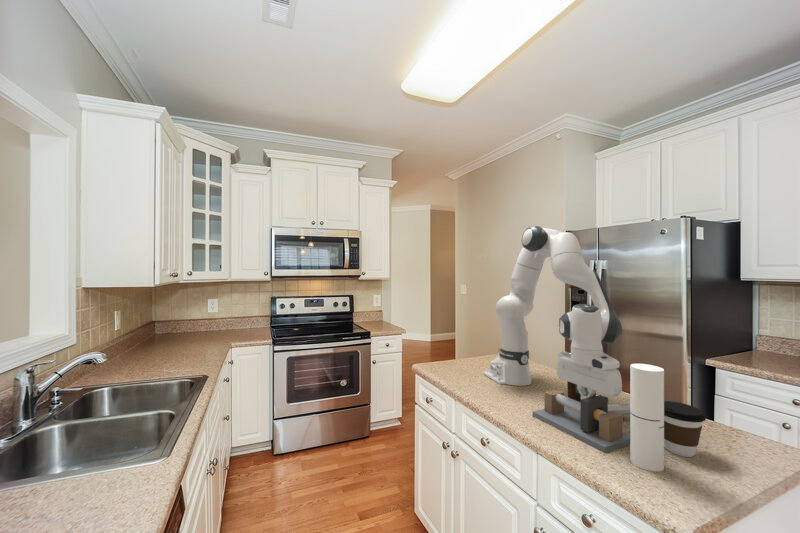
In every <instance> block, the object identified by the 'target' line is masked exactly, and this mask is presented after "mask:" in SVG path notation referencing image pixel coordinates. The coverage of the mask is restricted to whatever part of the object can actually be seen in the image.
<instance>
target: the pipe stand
mask: <svg viewBox="0 0 800 533" xmlns="http://www.w3.org/2000/svg"><path fill="white" fill-rule="evenodd" d="M623 416H624V415H621V414H618V413H616V412H613V411H612V412H608V413H606V412H604V411H602V410H600V409H593V419H595V420H597V421H599V430H595V431H592V432H585V431H583V430H581V402H578V401H576V400H573V399H571V398H568V396H565V392H563V391H562V390H561V391H560V390H558V389H554V390H548V391H545V392H544V408H542V409H538V410H534V411H533V410H532V417H534V418H536V419H538V420H540V421H541V422H544V423H546V424H548V425H550V426H551V427H553V428H555V429H557V430H560V431H562V432H563V433H566V434H567V435H569V436H571V437H573V438H575V439H577V440H579V441H581V442H583V443H585V444H586V445H589V446H591V447H593V448H595V449H597V450H598V451H601V452H602V453H608V452H611V451H614V450H617V449H620V448H623V447H626V446H630V433H627V432H625V431H623V423H624V422H623Z"/></svg>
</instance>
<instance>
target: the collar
mask: <svg viewBox="0 0 800 533" xmlns="http://www.w3.org/2000/svg"><path fill="white" fill-rule="evenodd" d="M608 399H609V398H608V396H607V397H606V396H604V395H602V394H599V395H596V396H594V397H589V398H585V399H581V430H583V431H585V432H592V431H595V430H599V421H597V420H595V419H593V409H600V410H602V411H604V412H606V413H608V405H609V400H608Z"/></svg>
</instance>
